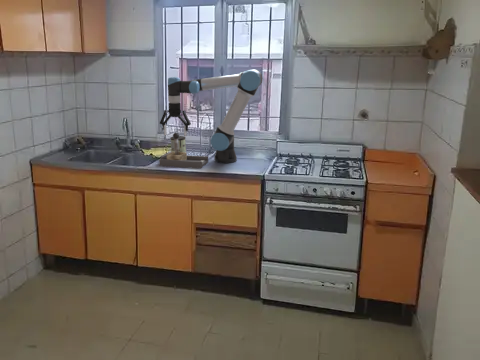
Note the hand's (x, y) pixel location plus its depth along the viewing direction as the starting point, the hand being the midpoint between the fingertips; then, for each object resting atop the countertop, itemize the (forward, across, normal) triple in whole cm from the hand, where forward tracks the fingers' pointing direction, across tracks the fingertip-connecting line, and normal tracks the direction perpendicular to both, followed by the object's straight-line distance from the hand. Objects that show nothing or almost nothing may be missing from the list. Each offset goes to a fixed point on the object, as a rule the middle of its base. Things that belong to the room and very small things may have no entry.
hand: (175, 135), depth 289 cm
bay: (+18, +6, 0) cm, 19 cm away
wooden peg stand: (+17, 0, 0) cm, 17 cm away
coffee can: (+19, -4, +17) cm, 26 cm away
